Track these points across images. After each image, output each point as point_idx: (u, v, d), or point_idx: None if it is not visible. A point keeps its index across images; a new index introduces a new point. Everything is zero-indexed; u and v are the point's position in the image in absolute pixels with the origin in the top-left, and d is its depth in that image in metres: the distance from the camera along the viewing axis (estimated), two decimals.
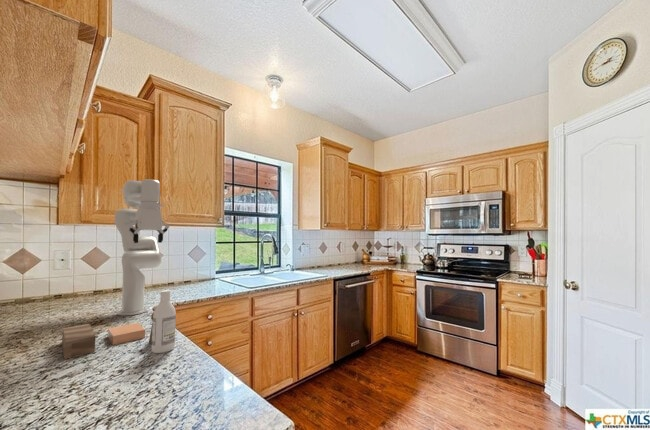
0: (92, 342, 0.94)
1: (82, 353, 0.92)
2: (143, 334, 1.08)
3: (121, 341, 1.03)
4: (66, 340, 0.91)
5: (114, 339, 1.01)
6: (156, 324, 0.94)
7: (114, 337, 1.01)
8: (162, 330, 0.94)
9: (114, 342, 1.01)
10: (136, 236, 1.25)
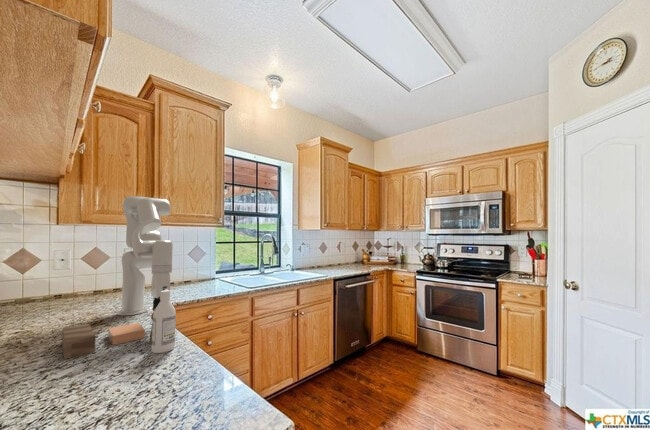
0: (92, 342, 0.94)
1: (82, 353, 0.92)
2: (143, 334, 1.08)
3: (121, 341, 1.03)
4: (66, 340, 0.91)
5: (114, 339, 1.01)
6: (156, 324, 0.94)
7: (114, 337, 1.01)
8: (162, 330, 0.94)
9: (114, 342, 1.01)
10: None
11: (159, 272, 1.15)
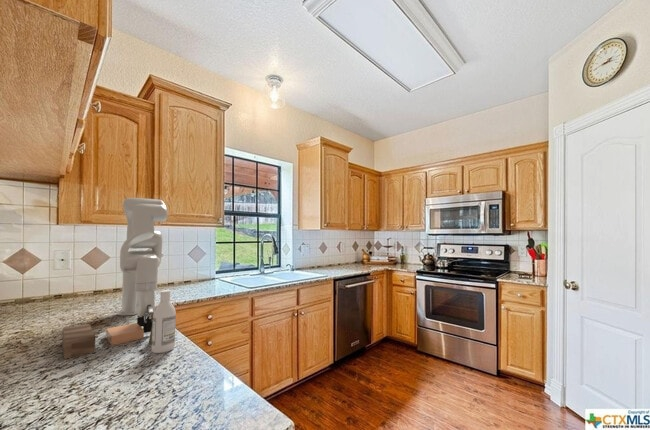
0: (92, 342, 0.94)
1: (82, 353, 0.92)
2: (141, 334, 1.07)
3: (119, 341, 1.02)
4: (66, 340, 0.91)
5: (112, 339, 1.01)
6: (156, 324, 0.94)
7: (112, 337, 1.01)
8: (162, 330, 0.94)
9: (112, 342, 1.01)
10: (151, 323, 1.11)
11: (143, 290, 1.11)
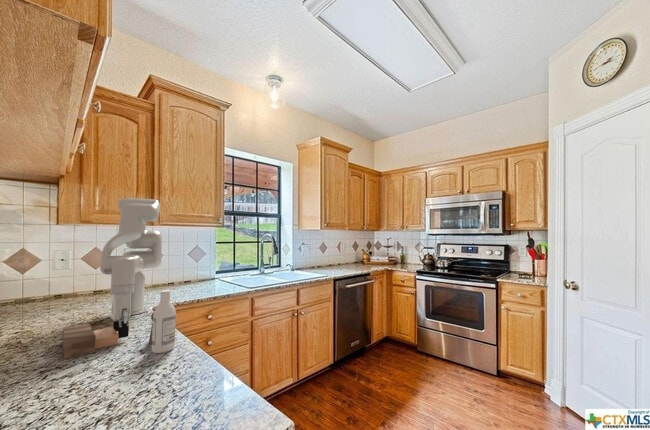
0: (92, 342, 0.94)
1: (82, 353, 0.92)
2: (116, 339, 1.02)
3: None
4: (66, 340, 0.91)
5: None
6: (156, 324, 0.94)
7: None
8: (162, 330, 0.94)
9: None
10: (127, 328, 1.05)
11: (118, 293, 1.05)
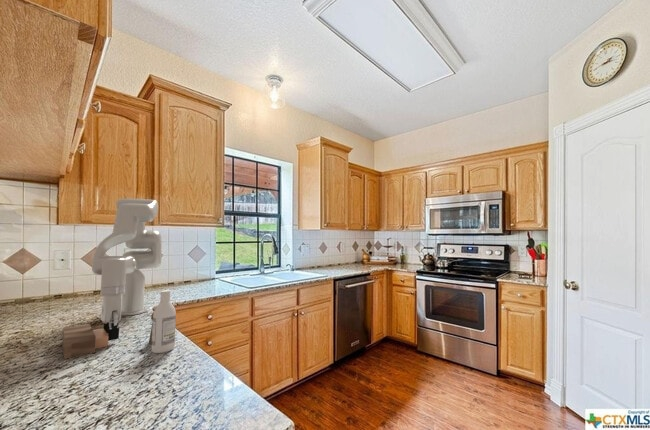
0: (92, 342, 0.94)
1: (82, 353, 0.92)
2: (106, 341, 1.00)
3: None
4: (66, 340, 0.91)
5: None
6: (156, 324, 0.94)
7: None
8: (162, 330, 0.94)
9: None
10: (117, 330, 1.03)
11: (108, 294, 1.03)
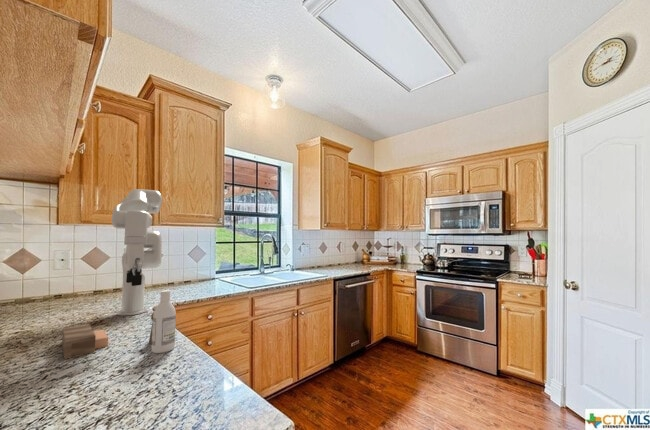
0: (92, 342, 0.94)
1: (82, 353, 0.92)
2: (106, 342, 1.00)
3: None
4: (66, 340, 0.91)
5: None
6: (156, 324, 0.94)
7: None
8: (162, 330, 0.94)
9: None
10: (140, 277, 1.09)
11: (132, 243, 1.09)
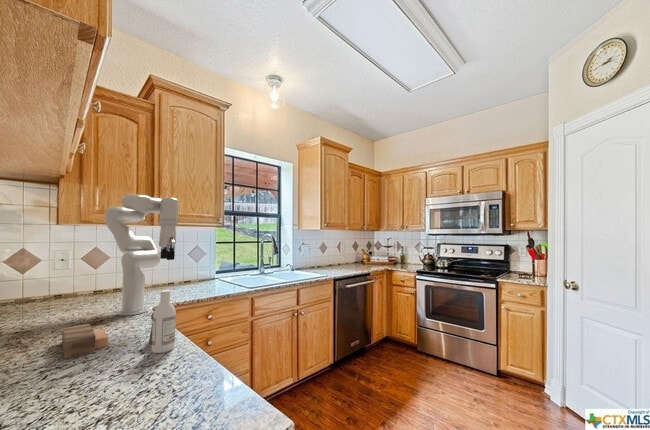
0: (92, 342, 0.94)
1: (82, 353, 0.92)
2: (106, 342, 1.00)
3: None
4: (66, 340, 0.91)
5: None
6: (156, 324, 0.94)
7: None
8: (162, 330, 0.94)
9: None
10: (173, 253, 1.30)
11: (166, 224, 1.31)
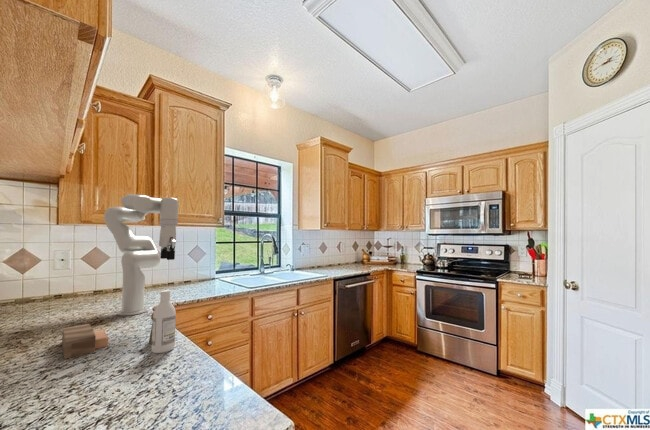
0: (92, 342, 0.94)
1: (82, 353, 0.92)
2: (106, 342, 1.00)
3: None
4: (66, 340, 0.91)
5: None
6: (156, 324, 0.94)
7: None
8: (162, 330, 0.94)
9: None
10: (173, 253, 1.31)
11: (166, 224, 1.31)
